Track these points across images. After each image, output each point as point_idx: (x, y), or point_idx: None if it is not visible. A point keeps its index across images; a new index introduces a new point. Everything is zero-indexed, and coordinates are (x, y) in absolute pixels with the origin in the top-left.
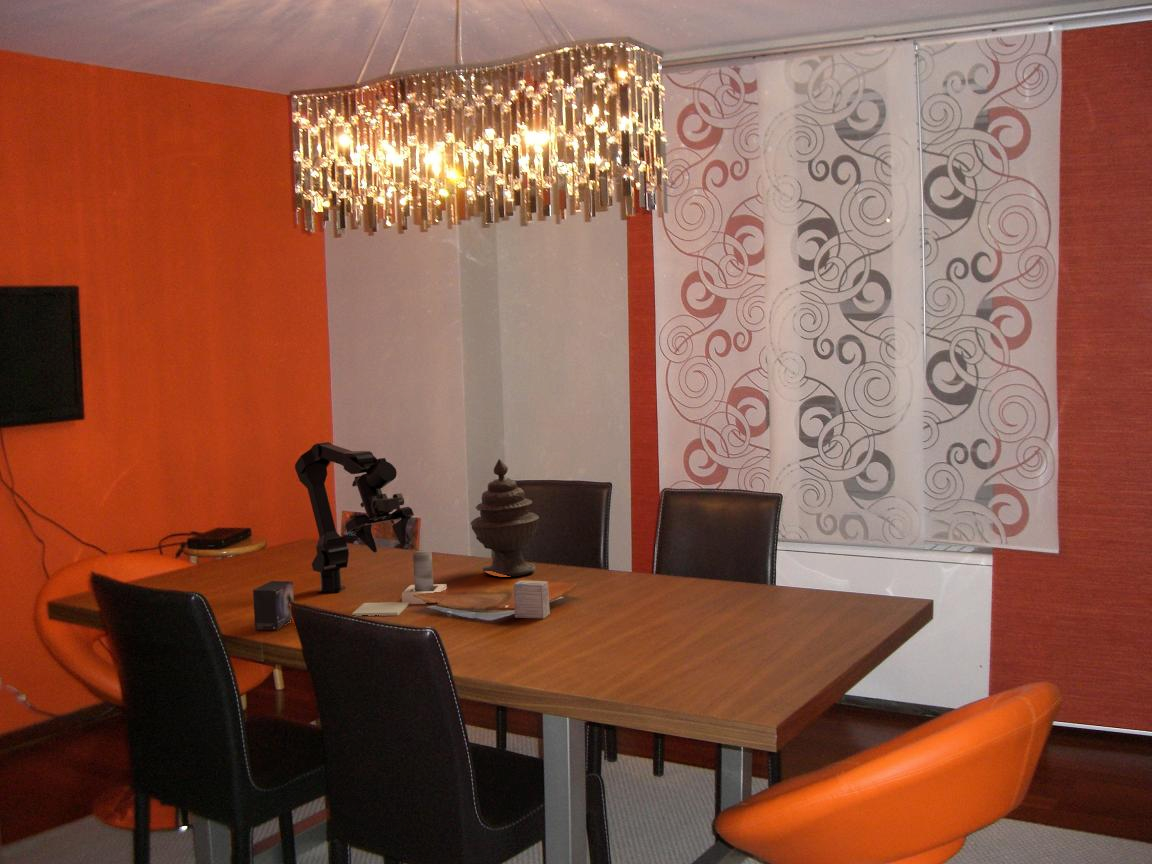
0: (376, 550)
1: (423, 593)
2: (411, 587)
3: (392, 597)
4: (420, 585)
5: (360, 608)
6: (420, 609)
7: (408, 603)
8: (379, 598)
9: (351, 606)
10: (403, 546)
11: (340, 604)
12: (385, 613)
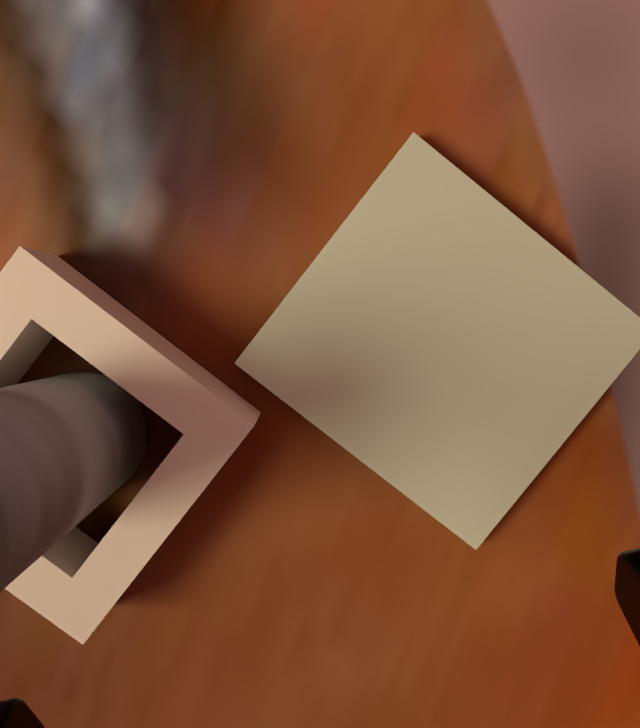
0: (637, 557)
1: (116, 319)
2: (116, 555)
3: (234, 641)
4: (87, 407)
5: (561, 417)
6: (222, 192)
7: (225, 386)
8: (313, 673)
9: (541, 589)
10: (29, 716)
11: (574, 689)
12: (477, 187)
